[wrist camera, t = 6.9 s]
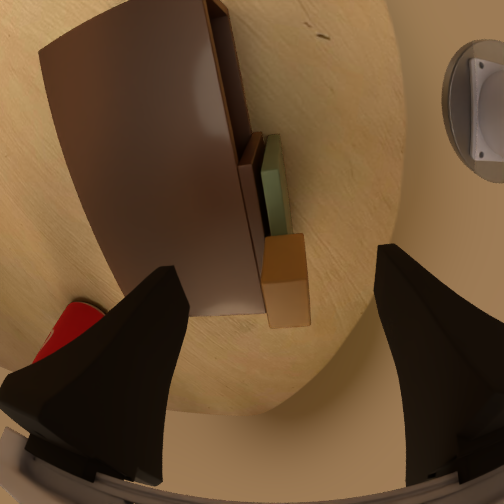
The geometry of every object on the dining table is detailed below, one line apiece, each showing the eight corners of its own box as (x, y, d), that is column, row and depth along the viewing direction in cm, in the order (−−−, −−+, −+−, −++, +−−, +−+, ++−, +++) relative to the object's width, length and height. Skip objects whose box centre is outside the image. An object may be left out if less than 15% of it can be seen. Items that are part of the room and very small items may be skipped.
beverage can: (63, 309, 28) (13, 393, 18) (82, 287, 26) (22, 385, 16) (103, 343, 31) (65, 428, 21) (128, 326, 28) (84, 427, 18)
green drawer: (290, 132, 16) (301, 200, 8) (303, 247, 20) (312, 366, 12) (263, 135, 16) (244, 206, 8) (281, 249, 21) (277, 368, 13)
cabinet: (238, 6, 12) (214, -28, 7) (280, 244, 21) (277, 313, 15) (106, 48, 14) (37, 51, 8) (167, 255, 22) (135, 317, 17)
